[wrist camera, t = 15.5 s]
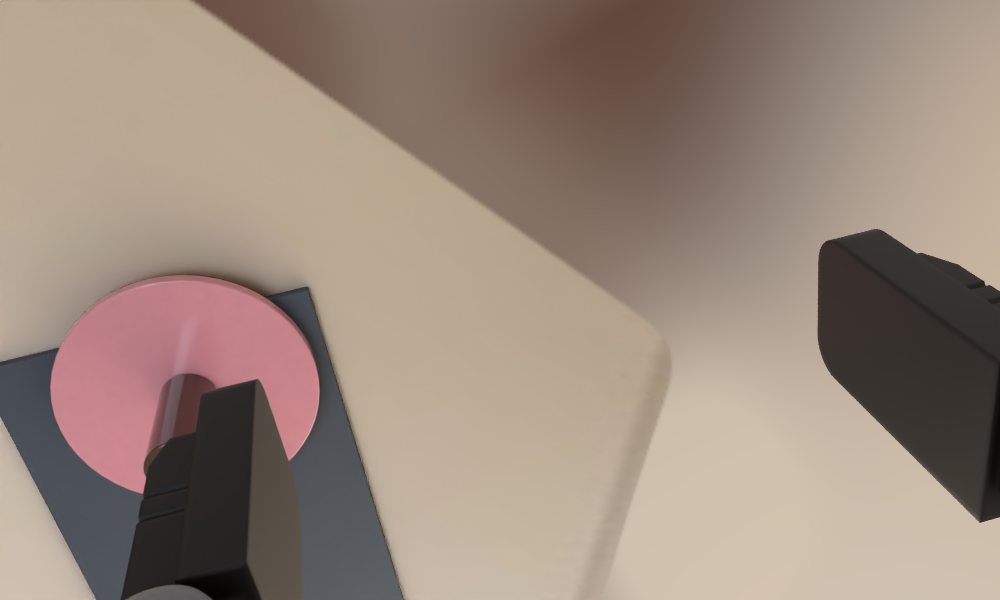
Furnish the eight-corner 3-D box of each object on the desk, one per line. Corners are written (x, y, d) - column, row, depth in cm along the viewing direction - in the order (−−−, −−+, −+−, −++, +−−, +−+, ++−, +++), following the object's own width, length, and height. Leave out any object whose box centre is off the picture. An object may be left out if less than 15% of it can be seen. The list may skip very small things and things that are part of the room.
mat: (-21, 367, 39) (-24, 372, 38) (307, 286, 40) (307, 290, 40) (145, 686, 48) (144, 693, 48) (407, 611, 50) (408, 617, 49)
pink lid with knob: (12, 305, 38) (-36, 386, 32) (280, 241, 39) (278, 308, 33) (111, 511, 43) (85, 612, 37) (345, 449, 44) (353, 538, 38)
